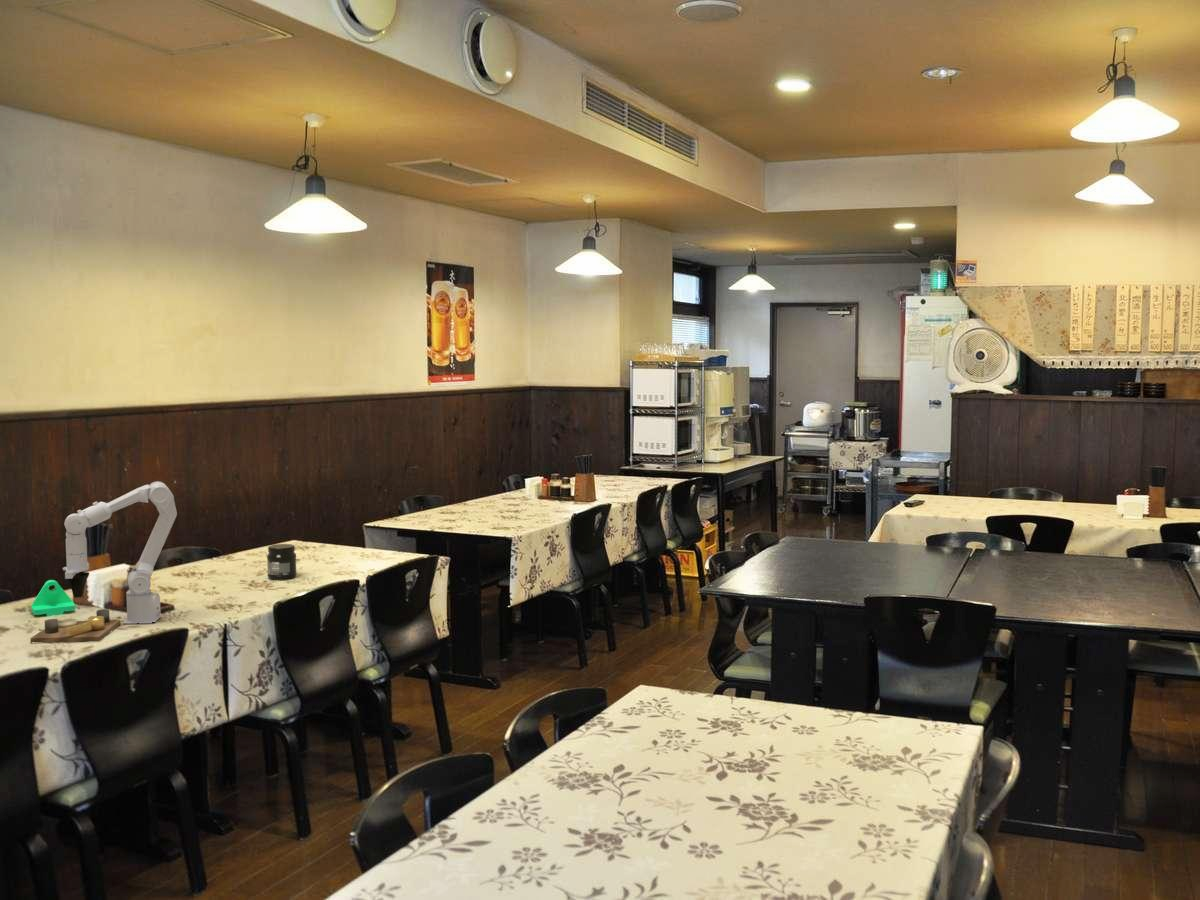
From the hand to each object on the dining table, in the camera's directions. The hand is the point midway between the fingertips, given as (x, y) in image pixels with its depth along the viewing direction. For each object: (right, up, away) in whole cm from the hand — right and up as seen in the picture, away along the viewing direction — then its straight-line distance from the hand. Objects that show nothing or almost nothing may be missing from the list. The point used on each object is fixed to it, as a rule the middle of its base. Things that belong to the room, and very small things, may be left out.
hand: (78, 597), depth 331 cm
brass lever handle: (+7, -9, -11) cm, 16 cm away
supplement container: (+41, -3, +73) cm, 84 cm away
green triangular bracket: (-17, -8, +18) cm, 26 cm away
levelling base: (+3, -10, -7) cm, 13 cm away
